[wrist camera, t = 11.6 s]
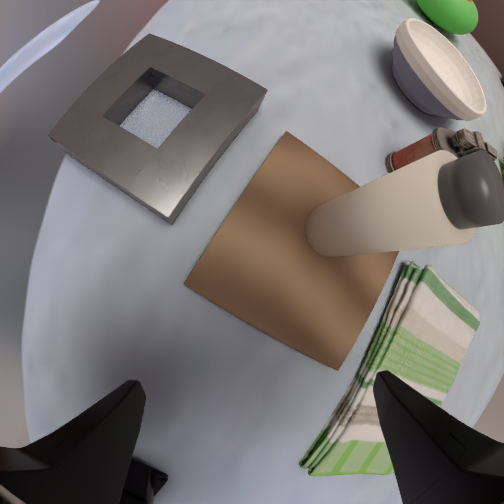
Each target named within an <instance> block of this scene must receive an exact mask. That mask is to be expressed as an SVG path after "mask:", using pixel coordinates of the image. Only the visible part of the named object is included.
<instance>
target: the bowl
mask: <svg viewBox="0 0 504 504" xmlns="http://www.w3.org/2000/svg"><path fill="white" fill-rule="evenodd" d="M392 55H393V65H392V72H393V75H394V78H395V80H396V82H397V84H398V86H399V87H400V89H401V90H402V92H403V93H404V94H405V95H406V97H407V98H408V99H409V100H410V101H411V102H412V103H413V104H414V105H415V106H416V107H417V108H419V109H420V110H421V111H423V112H425V113H427V114H430V115H437V116H440V117H444V118H453V119H456V120H465V121H470V120H473V119H476V118H478V117H480V116H481V115H482V114H484V113H485V111H486V100H485V96H484V93H483V90H482V87H481V85H480V83H479V81H478V79H477V77H476V75H475V73H474V72H473V70H472V69H471V67H470V65H469V64H468V63H467V61H466V60H465V58H464V57H463V56H462V55H461V53H460V52H459V51H458V50H457V49H456V48H455V47H454V45H453V44H452V43H451V42H450V41H449V40H448V39H447V38H446V37H444V36H443V35H442V34H441V33H440V32H438V31H437V30H436V29H435V28H433V27H432V26H430V25H429V24H427V23H425V22H423V21H421V20H418V19H414V18H409V19H407V20H406V21H404V22H403V23H402V24H401V25H400V26H399V28H398V29H397V30H396V35H395V39H394V48H393V52H392Z"/></svg>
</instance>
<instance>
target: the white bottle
mask: <svg viewBox="0 0 504 504" xmlns="http://www.w3.org/2000/svg"><path fill="white" fill-rule="evenodd" d="M503 221H504V184H503V181H502V178H501V175H500V172H499V170H498V168H497V166H496V164H495V162H494V160H493V159H492V158H491V156H490V155H489V154H488V153H487V152H486V151H484V150H479V151H476V152H474V153H471V154H469V155H466V156H464V157H461V158H459V159H458V158H457V157H456V156H454V155H453V154H452V153H450V152H448V151H445V150H439V151H436V152H434V153H432V154H430V155H428V156H426V157H423V158H421V159H419V160H417V161H415V162H413V163H410V164H408V165H406V166H404V167H402V168H400V169H397V170H395V171H393V172H391V173H389V174H387V175H385V176H382V177H380V178H378V179H376V180H374V181H372V182H370V183H368V184H365V185H363V186H361V187H359V188H357V189H355V190H353V191H351V192H349V193H346V194H344V195H342V196H340V197H338V198H336V199H334V200H332V201H330V202H328V203H326V204H323V205H321V206H319V207H317V208H316V209H314V210H313V211H312V212H311V213H310V215H309V216H308V219H307V221H306V228H305V230H306V237H307V240H308V242H309V244H310V246H311V247H312V248H313V249H314V251H316V252H317V253H318V254H320V255H322V256H325V257H337V256H348V255H359V254H370V253H381V252H392V251H402V250H413V249H423V248H433V247H443V246H452V245H462V244H466V243H468V242H469V241H470V240H471V239H472V238H473V236H474V234H475V232H476V228H477V227H482V226H488V225H495V224H500V223H502V222H503Z"/></svg>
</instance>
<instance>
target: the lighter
mask: <svg viewBox="0 0 504 504" xmlns="http://www.w3.org/2000/svg"><path fill="white" fill-rule="evenodd" d="M439 150H445V151H448V152H450V153H452V154H453V155H454V156H456V157H457V158H458V159H459V158H461V157H464V156H466V155H469V154H471V153H474V152H476V151H479V150H484V151H486V152H487V153H488V154H489V155H490V156H491V158H492V159H493V160H494V161H495V160H497V157H498V155H497V151H496V149H495V148H493V147H492V146H491V145H489V144H488V143H487V142H485V141H483V138H482V135H481V133H479V132H470V131H469V130H468V129H466V128H464V129H462V130H459V131H457V132H454V131H452V130H450V129H447V128H443V127H439V128H437V129H435V130H433V132H432V134H431V135H429V136H427V137H425V138H423V139H421V140H419V141H417V142H415V143H413V144H411V145H410V146H408V147H406V148H404V149H402V150H400V151H398V152H396V151H395V152H392V153H390V154H389V155H387V156H386V159H385V165H386V169H387V171H388V173H391V172H393V171H395V170H397V169H400V168H402V167H404V166H406V165H408V164H410V163H413V162H415V161H417V160H419V159H421V158H423V157H426V156H428V155H430V154H432V153H434V152H436V151H439Z"/></svg>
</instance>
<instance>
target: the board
mask: <svg viewBox="0 0 504 504" xmlns="http://www.w3.org/2000/svg"><path fill="white" fill-rule="evenodd" d="M359 187H360V186H358V185H357V184H356V183H355V182H354V181H352V180H351V179H350V178H349V177H348V176H346V175H345V174H344V173H343V172H341V171H340V170H339V169H338V168H336V167H335V166H334V165H332V164H331V163H330V162H329V161H327V160H326V159H325V158H323V157H322V156H321V155H319V154H318V153H317V152H315V151H314V150H313V149H311V148H310V147H308V146H307V145H306V144H304V143H303V142H302V141H300V140H299V139H297V138H296V137H294V136H293V135H291V134H290V133H289V132H287V131H286V132H285V133H284V135H283V136H282V138H281V139H280V140H279V142H278V143H277V144H276V146H275V147H274V149H273V150H272V152H271V153H270V154H269V156H268V157H267V159H266V160H265V161H264V163H263V164H262V166H261V167H260V169H259V170H258V171H257V173H256V174H255V176H254V177H253V179H252V180H251V182H250V183H249V185H248V186H247V187H246V189H245V190H244V192H243V193H242V195H241V196H240V198H239V199H238V201H237V202H236V204H235V205H234V207H233V208H232V210H231V211H230V213H229V214H228V216H227V217H226V219H225V220H224V222H223V223H222V225H221V226H220V228H219V229H218V231H217V233H216V234H215V236H214V237H213V239H212V240H211V242H210V243H209V245H208V246H207V248H206V250H205V251H204V253H203V254H202V256H201V257H200V259H199V261H198V262H197V264H196V265H195V267H194V269H193V270H192V272H191V273H190V275H189V277H188V278H187V280H186V281H185V283H184V285H186V286H188V287H189V288H191V289H192V290H194V291H196V292H197V293H199V294H200V295H202V296H204V297H205V298H207V299H208V300H210V301H212V302H213V303H215V304H217V305H218V306H220V307H222V308H223V309H225V310H227V311H228V312H230V313H232V314H233V315H235V316H237V317H238V318H240V319H242V320H244V321H245V322H247V323H249V324H251V325H252V326H254V327H256V328H258V329H259V330H261V331H263V332H265V333H266V334H268V335H270V336H272V337H274V338H276V339H277V340H279V341H281V342H283V343H285V344H287V345H288V346H290V347H292V348H294V349H296V350H298V351H300V352H302V353H304V354H305V355H307V356H309V357H311V358H313V359H315V360H317V361H319V362H321V363H323V364H325V365H327V366H329V367H331V368H333V369H335V370H337V371H338V370H339V368H340V367H341V365H342V364H343V362H344V360H345V359H346V357H347V355H348V354H349V352H350V350H351V348H352V347H353V345H354V343H355V341H356V340H357V338H358V336H359V334H360V332H361V331H362V329H363V327H364V325H365V323H366V321H367V319H368V317H369V315H370V314H371V312H372V310H373V308H374V306H375V304H376V302H377V299H378V297H379V295H380V293H381V291H382V289H383V287H384V285H385V283H386V280H387V278H388V276H389V274H390V271H391V269H392V267H393V264H394V262H395V260H396V257H397V255H398V252H399V251H392V252H381V253H370V254H359V255H348V256H337V257H325V256H322V255H320V254H318V253H317V252H316V251H314V249H313V248H312V247H311V246H310V244H309V242H308V240H307V237H306V230H305V228H306V221H307V219H308V216H309V215H310V213H311V212H312V211H313V210H314V209H316V208H317V207H319V206H321V205H323V204H326V203H328V202H330V201H332V200H334V199H336V198H338V197H340V196H342V195H344V194H346V193H349V192H351V191H353V190H355V189H357V188H359Z"/></svg>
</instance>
